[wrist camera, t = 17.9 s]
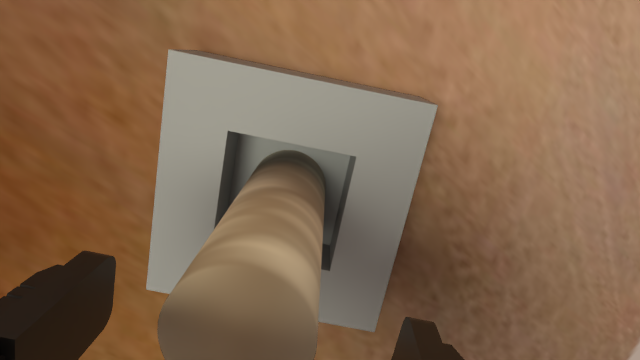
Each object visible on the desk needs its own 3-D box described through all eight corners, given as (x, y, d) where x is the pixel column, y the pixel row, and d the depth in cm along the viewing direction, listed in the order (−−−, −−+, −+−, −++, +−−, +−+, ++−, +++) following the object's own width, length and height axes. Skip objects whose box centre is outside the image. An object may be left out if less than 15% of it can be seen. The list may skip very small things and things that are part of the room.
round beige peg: (332, 158, 23) (332, 284, 10) (317, 226, 24) (300, 415, 11) (258, 143, 22) (165, 251, 10) (247, 212, 24) (150, 388, 11)
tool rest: (419, 96, 22) (437, 105, 19) (367, 290, 26) (374, 332, 22) (196, 50, 22) (168, 49, 18) (173, 254, 25) (146, 289, 22)
